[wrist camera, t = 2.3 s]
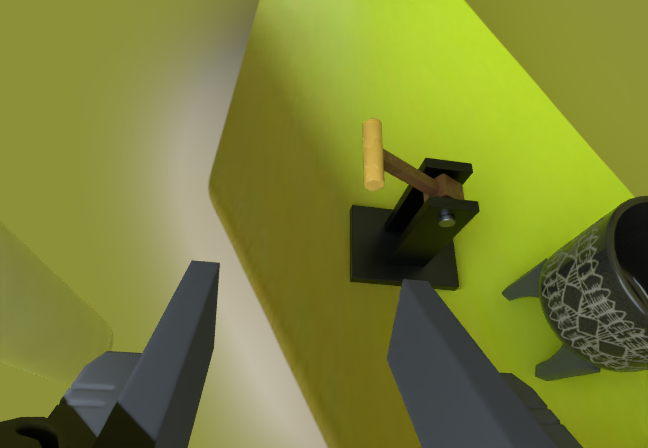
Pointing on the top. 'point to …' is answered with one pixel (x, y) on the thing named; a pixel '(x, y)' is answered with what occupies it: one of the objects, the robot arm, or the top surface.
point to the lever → (399, 168)
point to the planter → (596, 295)
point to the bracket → (411, 234)
